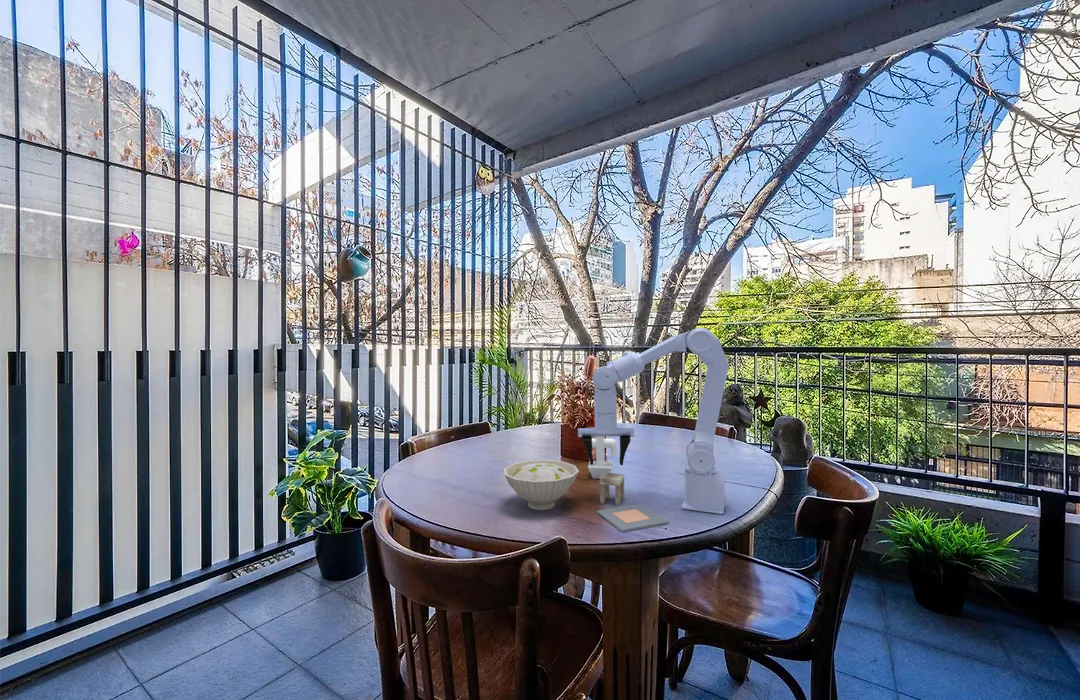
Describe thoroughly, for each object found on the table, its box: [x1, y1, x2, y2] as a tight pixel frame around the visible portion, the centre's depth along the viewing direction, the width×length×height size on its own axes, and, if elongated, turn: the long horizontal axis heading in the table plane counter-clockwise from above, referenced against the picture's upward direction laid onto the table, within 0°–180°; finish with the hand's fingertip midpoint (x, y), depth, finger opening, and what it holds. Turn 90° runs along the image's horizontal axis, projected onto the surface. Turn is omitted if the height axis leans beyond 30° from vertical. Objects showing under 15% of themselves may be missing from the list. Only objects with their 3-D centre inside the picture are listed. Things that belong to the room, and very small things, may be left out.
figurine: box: [587, 436, 617, 480], centre depth 139 cm, size 7×9×15 cm
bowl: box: [503, 459, 580, 511], centre depth 116 cm, size 19×19×10 cm
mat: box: [596, 503, 669, 533], centre depth 107 cm, size 12×12×1 cm
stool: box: [599, 472, 625, 507], centre depth 118 cm, size 5×5×6 cm
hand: (606, 464), depth 120 cm, fingers open, 7 cm apart
